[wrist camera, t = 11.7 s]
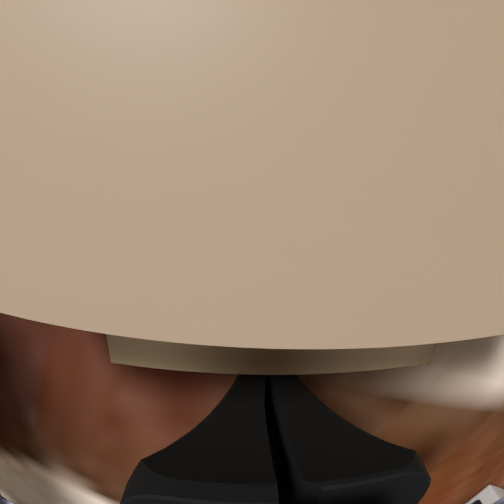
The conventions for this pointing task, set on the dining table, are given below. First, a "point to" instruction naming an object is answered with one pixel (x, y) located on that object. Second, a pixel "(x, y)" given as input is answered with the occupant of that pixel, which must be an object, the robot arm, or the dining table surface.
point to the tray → (261, 358)
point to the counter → (254, 170)
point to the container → (487, 495)
